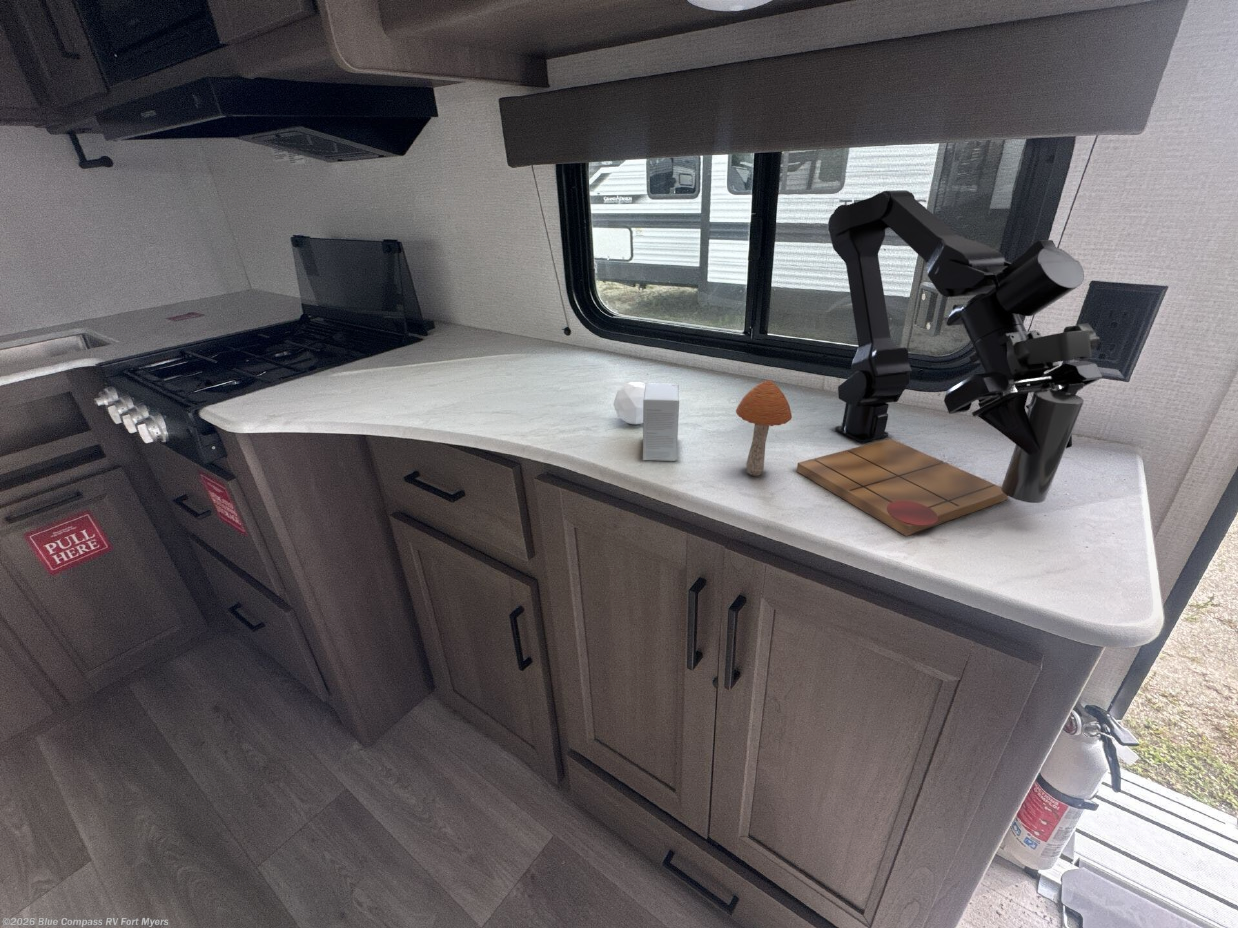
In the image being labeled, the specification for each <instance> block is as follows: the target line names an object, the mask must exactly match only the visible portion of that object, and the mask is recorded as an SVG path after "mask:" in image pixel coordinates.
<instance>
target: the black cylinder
mask: <svg viewBox="0 0 1238 928" xmlns="http://www.w3.org/2000/svg"><path fill="white" fill-rule="evenodd" d="M1084 402H1085V400H1084V398H1082V397H1081V396H1079V395H1077V394H1076V395H1074V394H1071V393H1067V392H1062V391H1056V390H1038V391H1035V392H1034V394H1033V397H1031V400H1030V402H1029V404H1030V405H1029V408H1028V409H1027V411H1026V413H1027V416H1028V418H1029V421H1030V424H1031V426H1032V429H1033V432H1034V435H1035V437H1036V440H1037V444H1038V448H1039V452H1038V453H1036V454H1034V455H1029V454H1027V453H1026V452H1025V451H1024V450H1022V449H1021V448H1020V447H1019V446H1017V445H1016V444H1015V446H1014V449H1013V452H1012V455H1011V458H1010V461H1009V464H1008V466H1007V470H1006V472H1005V476H1004V478H1003V481H1002V484H1001V486H1000V487H1001V490H1002V491H1003V493H1005V494H1006V495H1008V498H1011V499H1014V500H1017V501H1020V502H1024V503H1028V504H1029V503H1030V504H1039V503H1043V502H1045V501H1046V500H1047V498H1048V495H1049V492H1050V490H1051V488H1052V485H1053V482H1054V479H1055V477H1056V474H1057V472H1058V469H1059V467H1060V464H1061V463H1062V459H1063V457H1064V454H1065V451H1066V450H1067V449H1066V446H1067V444H1068V441H1069V439H1070V436H1071V434H1072V433H1073V431H1074V428H1075V426H1076V423H1077V421H1078V418H1079V416H1080V413H1081V411H1082V407H1083V405H1084ZM1072 435H1073V434H1072Z"/></svg>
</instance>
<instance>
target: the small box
mask: <svg viewBox="0 0 1238 928" xmlns="http://www.w3.org/2000/svg"><path fill="white" fill-rule="evenodd" d="M644 385H645V392H644V400H643V423H642V460H643V461H662V462H676V461H677V459H678V458H677V457H678V440H679V439H678V438H679V418H680V384H679V383H662V382H661V383H659V382H658V383H657V382H656V383H654V382H646V383H645V384H644Z"/></svg>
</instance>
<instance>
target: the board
mask: <svg viewBox="0 0 1238 928" xmlns="http://www.w3.org/2000/svg"><path fill="white" fill-rule="evenodd" d="M796 472H797V473H798V474H800V475H802V476H804V477H806V478H807V479H808V480H810V481H812V482H813V483H815V484H817V485H819V486H820V487H822V488H823V489H825V490H827V491H829V492H830V493H832V494H834V495H836V496H837V497H839V498H841V499H842V500H844V501H846V502H848V503H849V504H851V505H852V506H854V507H856V508H857V509H859V510H861V511H863V512H864V513H866V514H868V515H869V516H871V517H873V518H874V519H877V520H878V521H879V522H881V523H882V524H884V525H886V526H888V527H890V528H891V529H892V530H894V531H896V532H898V533H900V534H902V535H903V536H905V537H909V536H910V535H913V534H916V533H920V532H922V531H925V530H928V529H931V528H933V527H935V526H938V525H941V524H944V523H947V522H950V521H952V520H955V519H958V518H961V517H963V516H967V515H970V514H971V513H974V512H977V511H980V510H983V509H985V508H986V509H987V508H989V507H991V506H993V505H996V504H997V505H998V504H1000V503H1002V502H1005V501H1007V500H1008V498H1009V496H1008V495H1006V494H1005V493H1003V491H1002V490H1001V487H1002V486H1000V485H997V484H995V483H993V482H991V481H989V480H986V479H984V478H982V477H980V476H977V475H974V474H973V473H970V472H968V471H966V470H963V469H961V468H959V467H956V466H954V465H952V464H949V463H947V462H945V461H944V460H941V459H938V458H936V457H934V456H932V455H929V454H927V453H925V452H923V451H920V450H918V449H916V448H913V447H911V446H909V445H906V444H904V443H901V442H900V441H897V440H896V439H893V438H888V439H883V440H879V441H875V442H872V443H868V444H864V445H861V446H857V447H853V448H848V449H845V450H841V451H837V452H834V453H829V454H825V455H822V456H818V457H815V458H811V459H807V460H803V461H798V462H797V465H796Z"/></svg>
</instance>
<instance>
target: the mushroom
mask: <svg viewBox="0 0 1238 928" xmlns="http://www.w3.org/2000/svg"><path fill="white" fill-rule="evenodd" d="M735 413H736V415H737V416H738V417H739V418H741V419H742V420H743V421H746V422H748V423H749V424H754V426H753V434H752V441H751V444H750V448H749V451H748V455H747V458H746V459H747V460H746V463H745V469H746V470H745V471H746V473H747V474H748V475H750V476H753V477H758V476H761V475H762V473H763V471H764V468H765V458H766V457H765V456H766V445H767V443H766V442H767V438H768V433H769V428H770V427H774V426H782V425H785V424H787V423H789V422H791V420H792V419H793V415H792V411H791V407H790V404H789V402H788V399H787V397H786V396H785V394H784V392H783V391H782V390H781V389H780V387H779V386H778V385H777V384H775V382H772V381H771V380H769V379H768V380H765V381H762V382H760V383H758V384H756V385H755V386H754V387H753V388H751V389H750V390H749V391H748V392H747V393H746V394H744V396H743V398H742V399H741V401H740V402H739V404H738V405H737V407H736V409H735Z"/></svg>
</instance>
